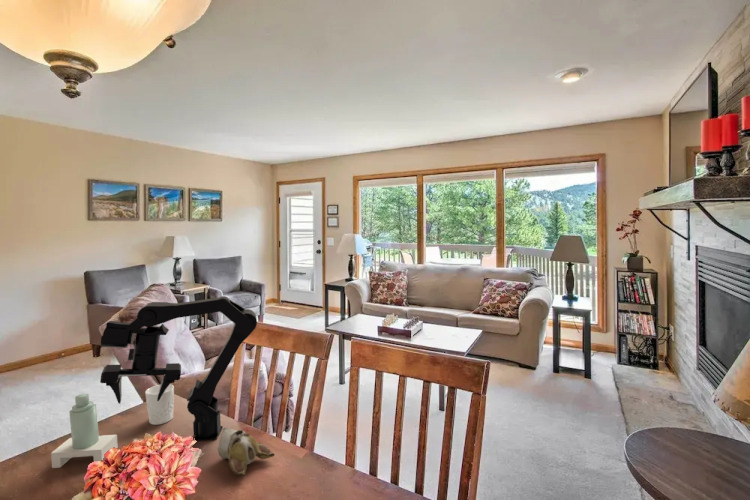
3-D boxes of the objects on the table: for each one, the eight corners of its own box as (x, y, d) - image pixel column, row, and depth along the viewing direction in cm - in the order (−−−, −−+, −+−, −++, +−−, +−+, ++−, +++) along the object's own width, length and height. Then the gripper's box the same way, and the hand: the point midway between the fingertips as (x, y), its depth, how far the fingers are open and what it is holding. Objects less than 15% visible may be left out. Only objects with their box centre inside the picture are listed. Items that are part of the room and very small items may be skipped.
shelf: (117, 448, 104) (116, 434, 104) (102, 464, 97) (101, 449, 97) (71, 451, 103) (70, 437, 102) (52, 468, 96) (50, 453, 95)
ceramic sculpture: (241, 413, 105) (276, 432, 97) (241, 442, 106) (276, 463, 98) (205, 431, 96) (241, 454, 88) (206, 462, 97) (241, 488, 89)
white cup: (166, 426, 115) (164, 394, 115) (141, 426, 115) (139, 394, 115) (180, 413, 123) (178, 383, 123) (156, 413, 123) (155, 383, 123)
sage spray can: (103, 436, 103) (99, 390, 102) (90, 448, 97) (85, 400, 96) (82, 437, 102) (78, 391, 101) (67, 450, 97) (62, 401, 96)
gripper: (183, 338, 115) (176, 386, 116) (110, 337, 106) (103, 390, 108) (183, 352, 105) (176, 404, 107) (103, 352, 97) (96, 410, 98)
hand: (139, 401), depth 105 cm, fingers open, 9 cm apart
